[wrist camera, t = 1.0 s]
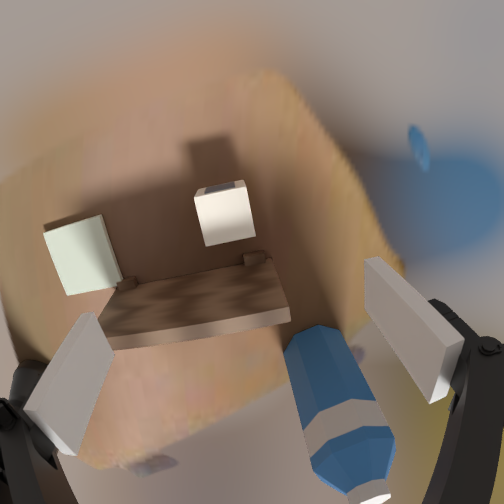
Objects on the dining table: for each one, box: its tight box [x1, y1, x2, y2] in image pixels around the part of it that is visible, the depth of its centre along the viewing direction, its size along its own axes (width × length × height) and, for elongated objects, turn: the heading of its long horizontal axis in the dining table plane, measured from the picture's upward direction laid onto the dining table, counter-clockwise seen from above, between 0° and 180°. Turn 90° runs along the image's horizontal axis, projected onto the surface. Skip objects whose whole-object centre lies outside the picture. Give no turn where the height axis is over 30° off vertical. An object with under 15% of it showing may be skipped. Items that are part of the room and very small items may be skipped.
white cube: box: [194, 180, 256, 247], centre depth 31 cm, size 5×5×5 cm
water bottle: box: [283, 325, 396, 504], centre depth 30 cm, size 9×9×25 cm
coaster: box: [43, 214, 123, 296], centre depth 34 cm, size 9×9×1 cm
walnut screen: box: [97, 250, 291, 350], centre depth 31 cm, size 20×4×11 cm, turn 100°
